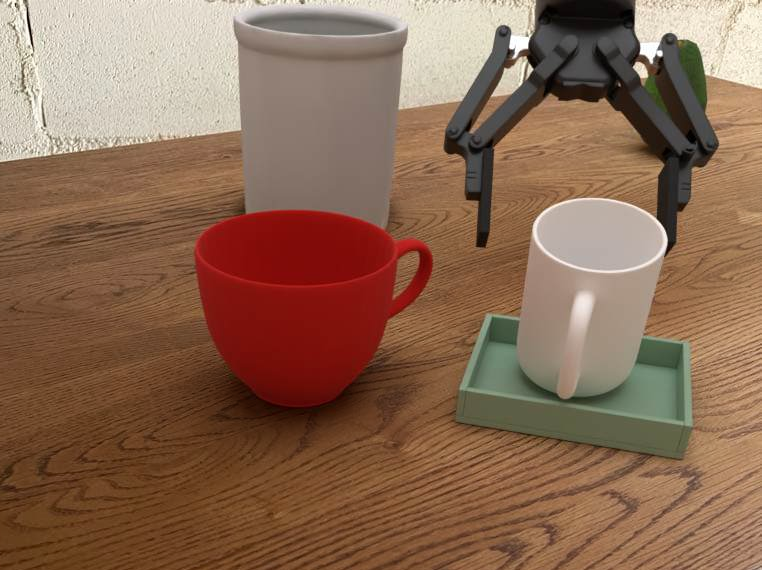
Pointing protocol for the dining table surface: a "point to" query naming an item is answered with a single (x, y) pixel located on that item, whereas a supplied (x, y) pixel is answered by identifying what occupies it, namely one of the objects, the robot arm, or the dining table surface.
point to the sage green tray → (581, 414)
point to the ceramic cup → (301, 298)
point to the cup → (588, 294)
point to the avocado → (693, 70)
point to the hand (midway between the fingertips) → (573, 245)
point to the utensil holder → (319, 108)
